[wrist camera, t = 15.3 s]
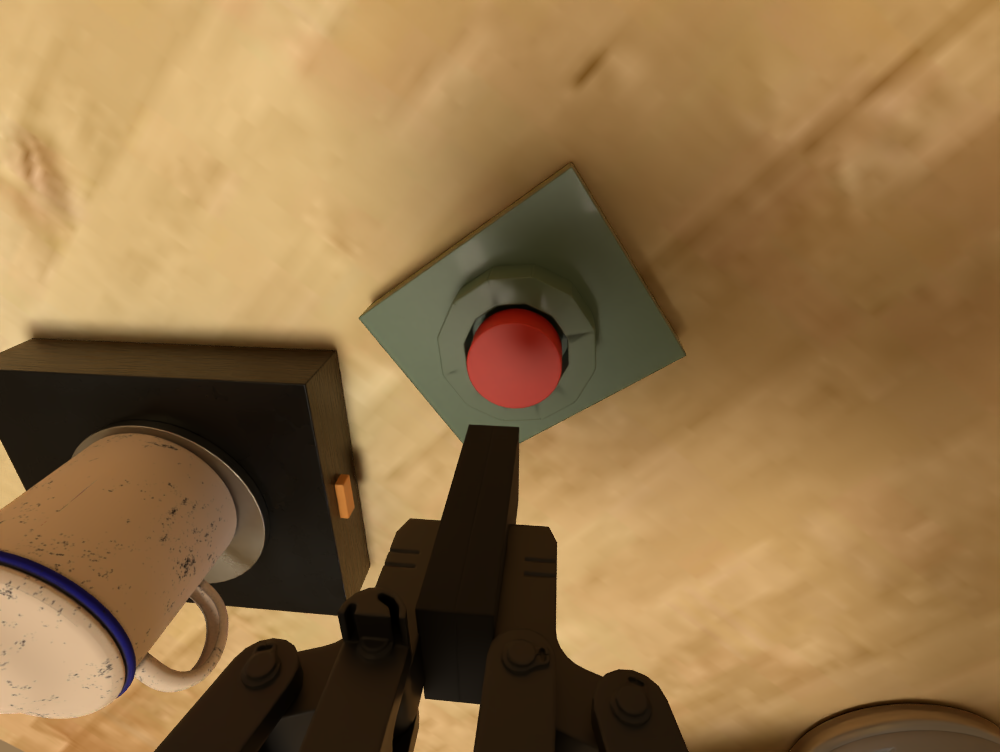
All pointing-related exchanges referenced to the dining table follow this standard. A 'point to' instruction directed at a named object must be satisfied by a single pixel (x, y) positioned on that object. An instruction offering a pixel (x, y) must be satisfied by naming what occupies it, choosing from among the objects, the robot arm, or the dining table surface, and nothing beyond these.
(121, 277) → the dining table surface
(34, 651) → the teacup with lid
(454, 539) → the robot arm
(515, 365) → the button
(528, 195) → the box
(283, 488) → the cup warmer
